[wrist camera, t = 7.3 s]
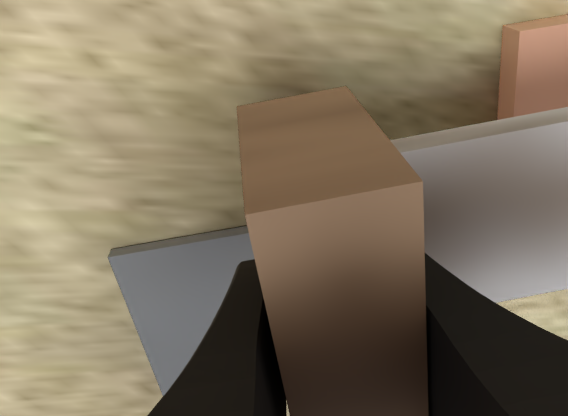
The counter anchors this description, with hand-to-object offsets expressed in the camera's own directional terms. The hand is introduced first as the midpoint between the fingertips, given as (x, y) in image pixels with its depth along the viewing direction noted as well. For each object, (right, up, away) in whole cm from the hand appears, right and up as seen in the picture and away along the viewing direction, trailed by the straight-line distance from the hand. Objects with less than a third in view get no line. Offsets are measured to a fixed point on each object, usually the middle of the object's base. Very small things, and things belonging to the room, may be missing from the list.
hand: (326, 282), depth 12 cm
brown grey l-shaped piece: (+4, +2, +1) cm, 4 cm away
